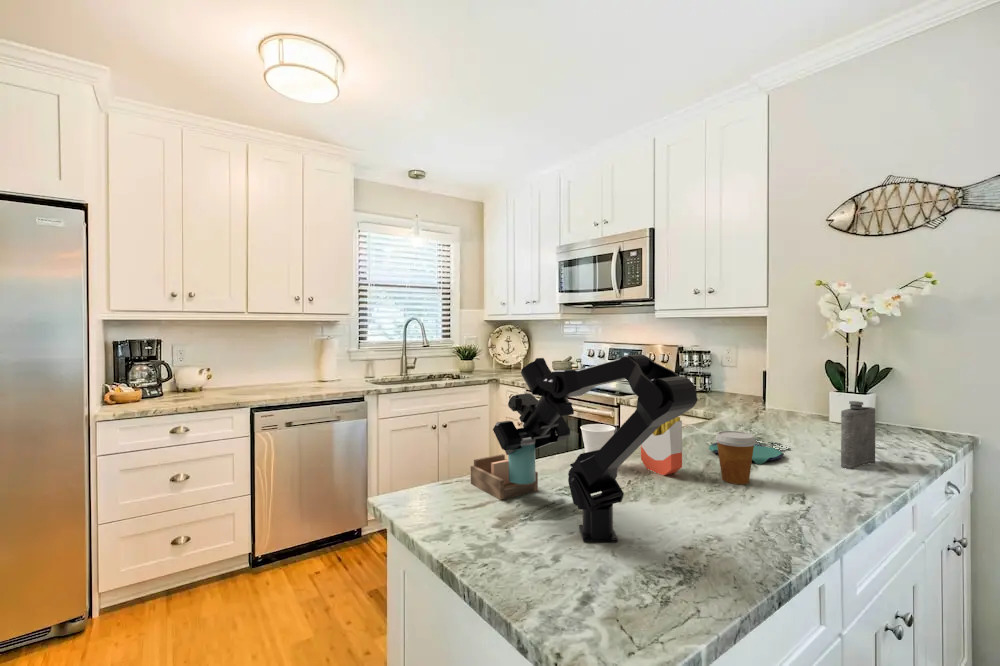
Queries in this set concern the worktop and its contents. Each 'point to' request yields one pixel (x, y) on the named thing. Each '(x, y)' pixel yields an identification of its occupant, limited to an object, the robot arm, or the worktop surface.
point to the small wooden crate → (497, 480)
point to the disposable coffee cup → (735, 455)
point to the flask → (857, 435)
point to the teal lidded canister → (523, 463)
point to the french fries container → (664, 448)
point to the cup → (596, 436)
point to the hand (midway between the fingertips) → (518, 451)
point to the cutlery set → (760, 452)
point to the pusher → (501, 470)
